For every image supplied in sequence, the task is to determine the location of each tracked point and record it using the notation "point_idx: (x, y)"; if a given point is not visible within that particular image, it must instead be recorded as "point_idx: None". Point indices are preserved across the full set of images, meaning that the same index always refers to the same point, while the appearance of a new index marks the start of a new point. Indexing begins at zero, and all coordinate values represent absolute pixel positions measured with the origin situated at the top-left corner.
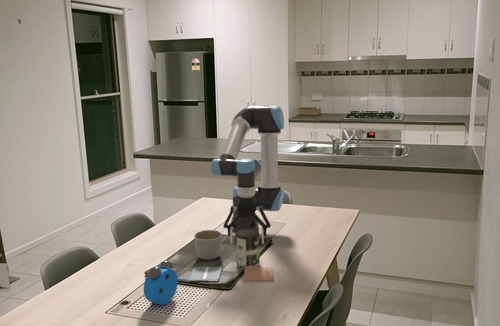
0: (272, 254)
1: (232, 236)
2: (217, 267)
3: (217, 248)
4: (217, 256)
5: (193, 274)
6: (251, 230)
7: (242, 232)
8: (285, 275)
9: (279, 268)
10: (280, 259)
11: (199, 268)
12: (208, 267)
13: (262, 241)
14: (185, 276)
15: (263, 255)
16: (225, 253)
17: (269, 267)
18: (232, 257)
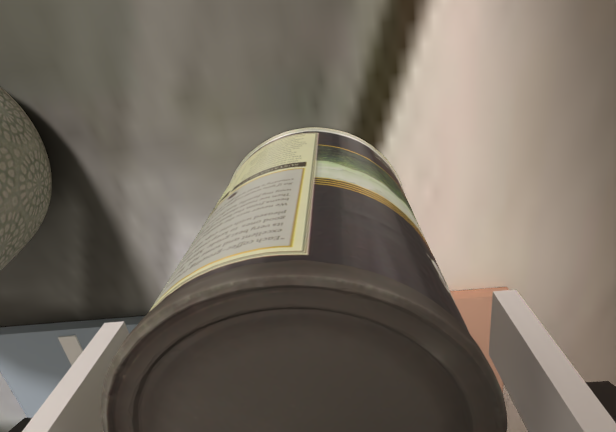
0: (527, 12)
1: (94, 405)
2: (129, 331)
3: (3, 260)
4: (48, 206)
5: (36, 410)
6: (356, 342)
7: (214, 426)
8: (578, 360)
9: (553, 279)
10: (589, 124)
11: (25, 349)
12: (73, 338)
13: (506, 376)
14: (3, 405)
15: (434, 50)
16: (64, 45)
17: (484, 304)
18: (161, 129)
